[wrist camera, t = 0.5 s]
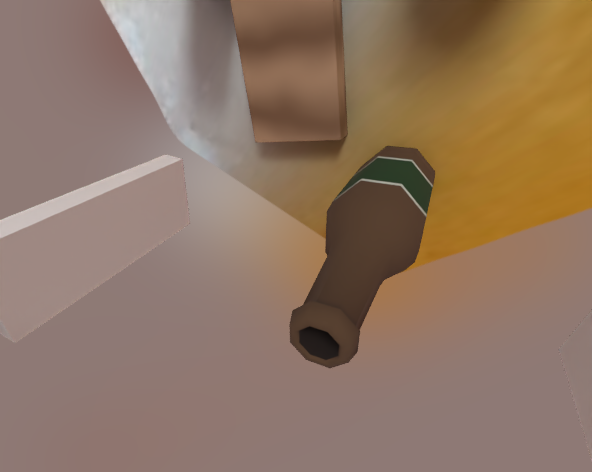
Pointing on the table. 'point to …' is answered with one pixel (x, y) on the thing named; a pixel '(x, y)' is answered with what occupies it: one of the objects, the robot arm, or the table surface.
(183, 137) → the table surface
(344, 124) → the board
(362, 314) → the beer bottle
